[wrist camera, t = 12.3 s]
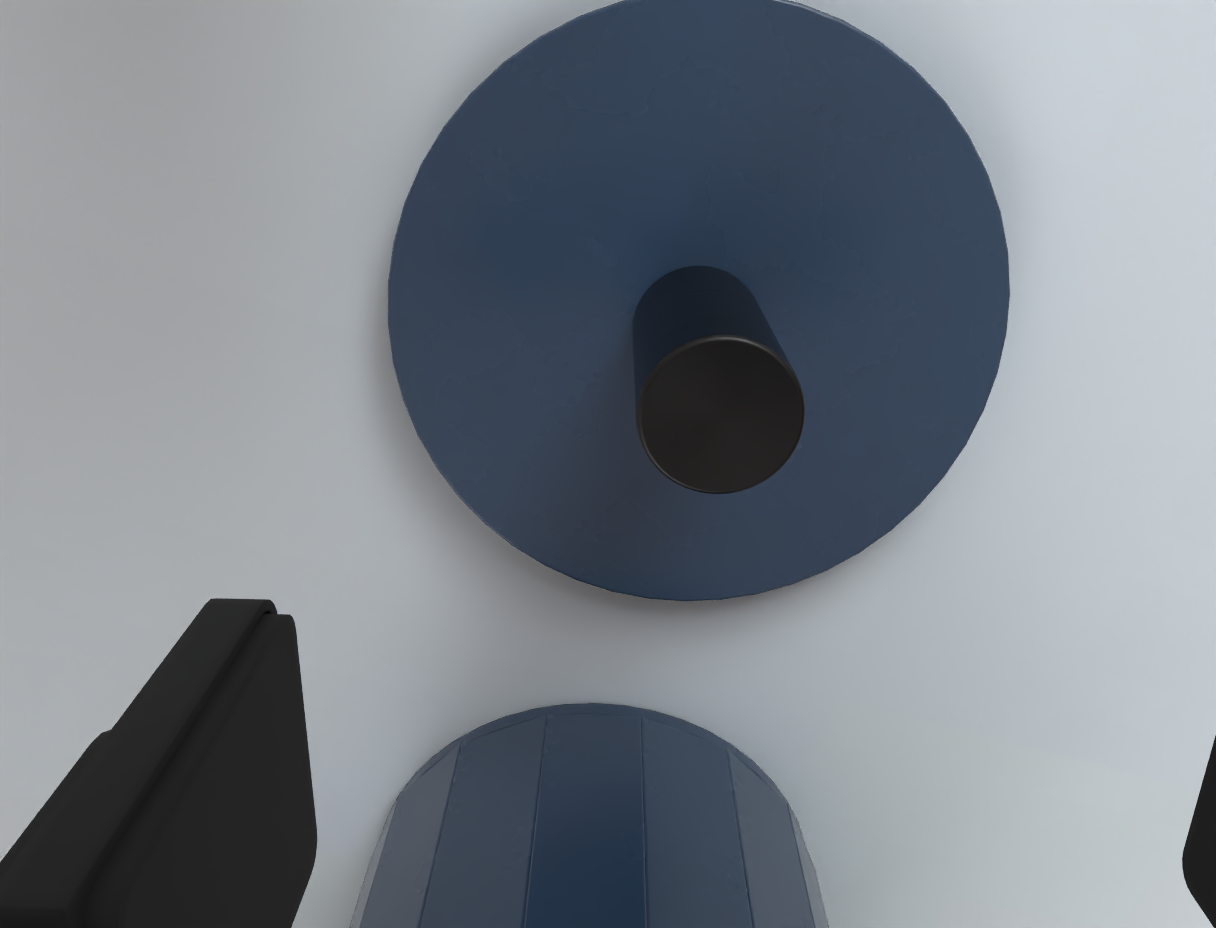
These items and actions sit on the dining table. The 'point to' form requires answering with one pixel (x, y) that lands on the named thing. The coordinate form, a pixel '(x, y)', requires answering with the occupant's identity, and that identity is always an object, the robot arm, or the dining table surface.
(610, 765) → the pot
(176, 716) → the robot arm
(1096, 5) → the dining table surface
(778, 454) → the lid
